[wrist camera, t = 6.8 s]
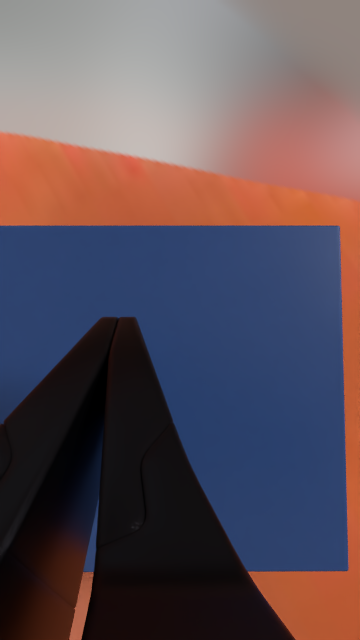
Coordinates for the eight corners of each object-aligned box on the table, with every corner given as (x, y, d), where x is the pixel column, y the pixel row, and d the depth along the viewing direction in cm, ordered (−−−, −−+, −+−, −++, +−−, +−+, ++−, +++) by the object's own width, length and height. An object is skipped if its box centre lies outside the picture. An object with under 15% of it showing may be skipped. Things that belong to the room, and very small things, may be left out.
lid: (-49, 230, 13) (-62, 225, 12) (331, 230, 13) (340, 224, 12) (-60, 560, 12) (-74, 573, 12) (339, 559, 12) (349, 572, 12)
